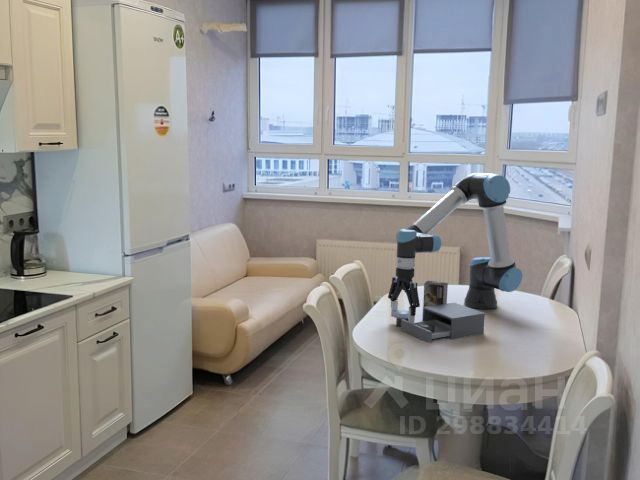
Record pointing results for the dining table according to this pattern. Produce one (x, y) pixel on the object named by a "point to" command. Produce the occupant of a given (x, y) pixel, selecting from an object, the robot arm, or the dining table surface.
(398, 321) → the short dark gray cylinder
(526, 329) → the dining table surface
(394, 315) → the light blue dome
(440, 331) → the tray
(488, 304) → the robot arm
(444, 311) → the gray drawer box
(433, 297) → the coffee box
